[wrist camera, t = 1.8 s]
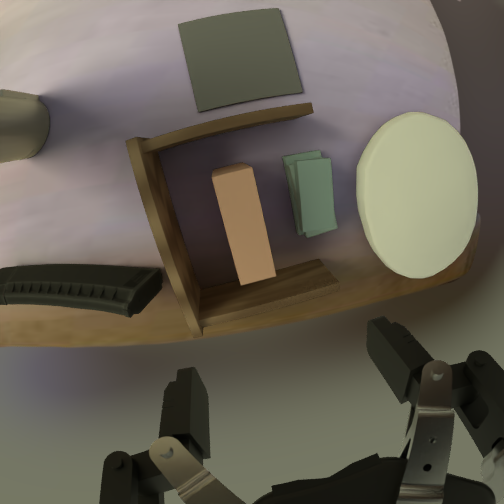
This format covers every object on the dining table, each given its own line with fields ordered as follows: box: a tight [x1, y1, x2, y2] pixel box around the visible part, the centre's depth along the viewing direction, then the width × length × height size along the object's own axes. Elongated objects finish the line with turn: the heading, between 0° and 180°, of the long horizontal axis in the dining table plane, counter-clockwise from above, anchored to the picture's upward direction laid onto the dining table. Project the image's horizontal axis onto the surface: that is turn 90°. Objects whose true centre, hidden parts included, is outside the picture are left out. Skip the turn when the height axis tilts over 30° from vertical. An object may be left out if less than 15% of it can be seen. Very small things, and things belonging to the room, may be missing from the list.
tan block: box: [212, 162, 276, 285], centre depth 33 cm, size 12×4×10 cm, turn 13°
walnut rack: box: [126, 103, 340, 338], centre depth 33 cm, size 24×20×9 cm
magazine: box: [0, 264, 163, 318], centre depth 33 cm, size 17×3×30 cm
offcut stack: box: [282, 150, 337, 238], centre depth 36 cm, size 11×5×5 cm, turn 13°
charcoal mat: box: [178, 8, 303, 112], centre depth 30 cm, size 14×14×1 cm
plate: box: [356, 112, 478, 278], centre depth 38 cm, size 28×6×27 cm
